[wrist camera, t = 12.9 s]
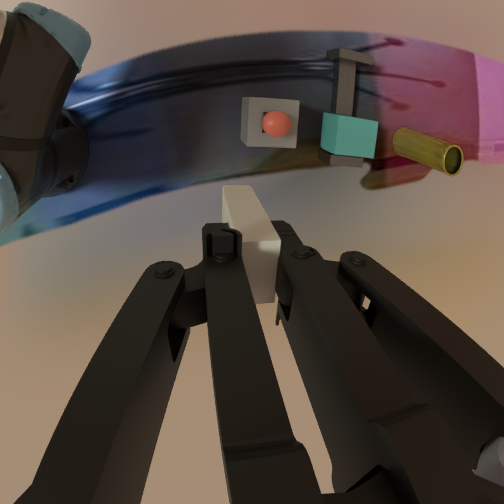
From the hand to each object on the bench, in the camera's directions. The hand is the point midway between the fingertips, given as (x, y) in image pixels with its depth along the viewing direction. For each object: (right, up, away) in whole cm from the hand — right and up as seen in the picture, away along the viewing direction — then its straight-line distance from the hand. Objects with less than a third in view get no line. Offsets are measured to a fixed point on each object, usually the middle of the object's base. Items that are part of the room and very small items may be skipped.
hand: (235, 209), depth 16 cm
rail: (+16, +22, +28) cm, 39 cm away
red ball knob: (+3, +17, +24) cm, 30 cm away
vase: (+30, +19, +33) cm, 49 cm away
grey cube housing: (+3, +19, +28) cm, 33 cm away
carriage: (+15, +18, +30) cm, 39 cm away
